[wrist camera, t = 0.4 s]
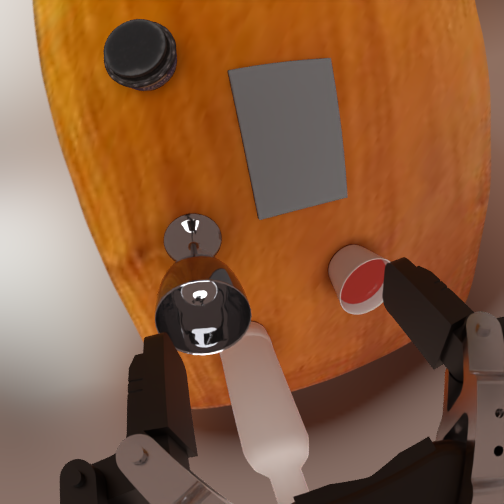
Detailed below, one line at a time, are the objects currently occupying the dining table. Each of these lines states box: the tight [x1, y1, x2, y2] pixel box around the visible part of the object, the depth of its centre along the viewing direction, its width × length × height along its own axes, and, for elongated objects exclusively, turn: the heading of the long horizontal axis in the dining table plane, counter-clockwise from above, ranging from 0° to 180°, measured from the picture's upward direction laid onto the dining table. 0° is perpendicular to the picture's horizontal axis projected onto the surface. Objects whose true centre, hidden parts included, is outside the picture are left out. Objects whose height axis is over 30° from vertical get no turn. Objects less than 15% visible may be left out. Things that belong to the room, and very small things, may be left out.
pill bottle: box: [104, 19, 177, 91], centre depth 22 cm, size 6×6×11 cm
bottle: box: [219, 321, 309, 504], centre depth 34 cm, size 8×8×30 cm
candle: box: [328, 245, 390, 314], centre depth 42 cm, size 9×9×6 cm
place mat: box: [228, 58, 347, 220], centre depth 33 cm, size 18×12×1 cm, turn 11°
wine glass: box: [155, 214, 251, 355], centre depth 31 cm, size 8×8×15 cm
